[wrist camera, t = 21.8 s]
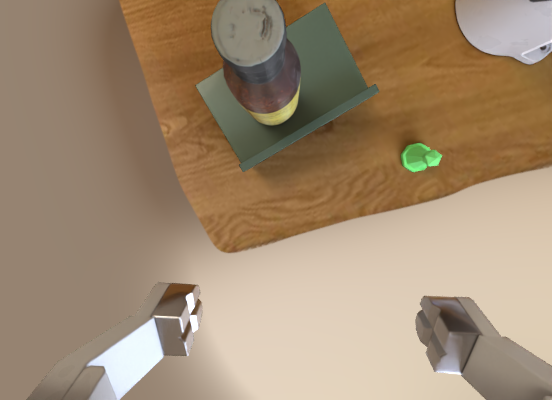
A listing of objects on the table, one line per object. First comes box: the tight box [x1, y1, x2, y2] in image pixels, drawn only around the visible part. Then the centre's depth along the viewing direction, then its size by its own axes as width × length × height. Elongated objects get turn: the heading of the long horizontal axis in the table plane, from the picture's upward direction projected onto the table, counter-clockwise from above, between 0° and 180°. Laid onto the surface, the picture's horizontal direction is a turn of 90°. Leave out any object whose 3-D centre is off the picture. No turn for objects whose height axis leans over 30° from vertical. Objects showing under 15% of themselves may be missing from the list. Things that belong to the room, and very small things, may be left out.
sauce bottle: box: [211, 0, 301, 125], centre depth 25 cm, size 6×6×20 cm
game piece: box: [401, 143, 442, 172], centre depth 39 cm, size 4×4×6 cm
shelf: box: [195, 3, 379, 172], centre depth 36 cm, size 18×12×10 cm, turn 120°
